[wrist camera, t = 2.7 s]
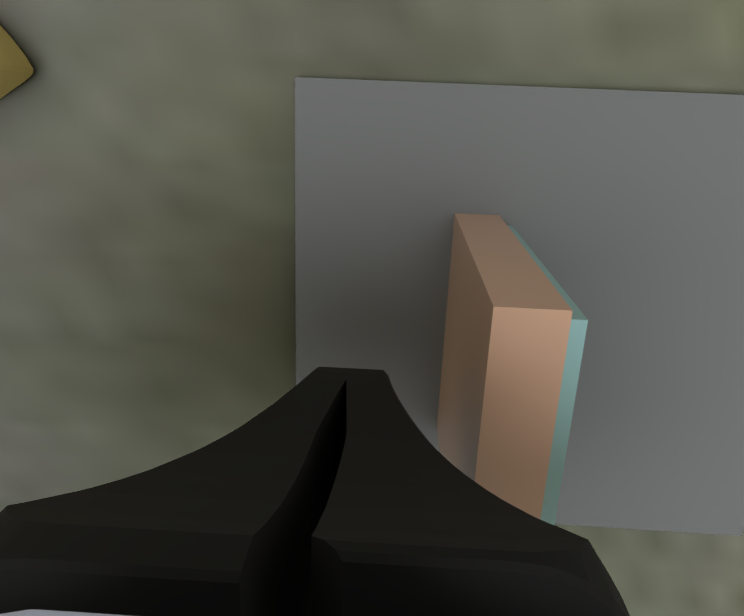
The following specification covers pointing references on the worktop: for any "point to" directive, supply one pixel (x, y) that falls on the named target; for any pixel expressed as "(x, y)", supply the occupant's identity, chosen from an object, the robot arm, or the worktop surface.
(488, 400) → the tile
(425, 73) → the worktop surface
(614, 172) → the mat
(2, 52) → the cheese
